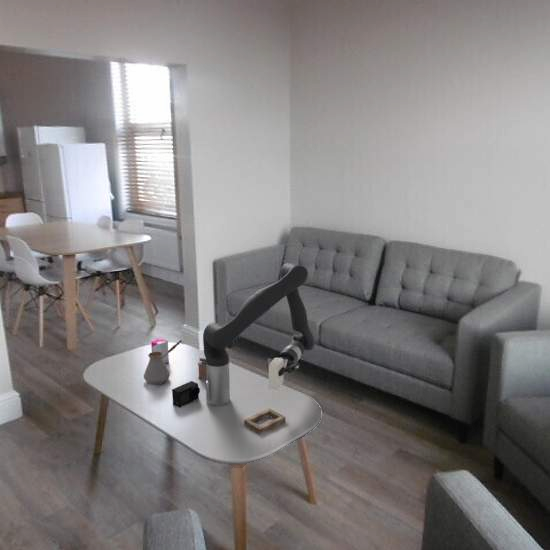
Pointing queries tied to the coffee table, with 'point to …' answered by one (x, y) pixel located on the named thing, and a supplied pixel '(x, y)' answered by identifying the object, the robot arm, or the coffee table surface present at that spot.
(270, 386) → the key block
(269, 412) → the frame
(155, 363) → the coffee pot
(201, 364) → the lighter
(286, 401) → the coffee table surface
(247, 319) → the robot arm
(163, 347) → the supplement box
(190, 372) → the coffee table surface
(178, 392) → the digital camera
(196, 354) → the coffee table surface
